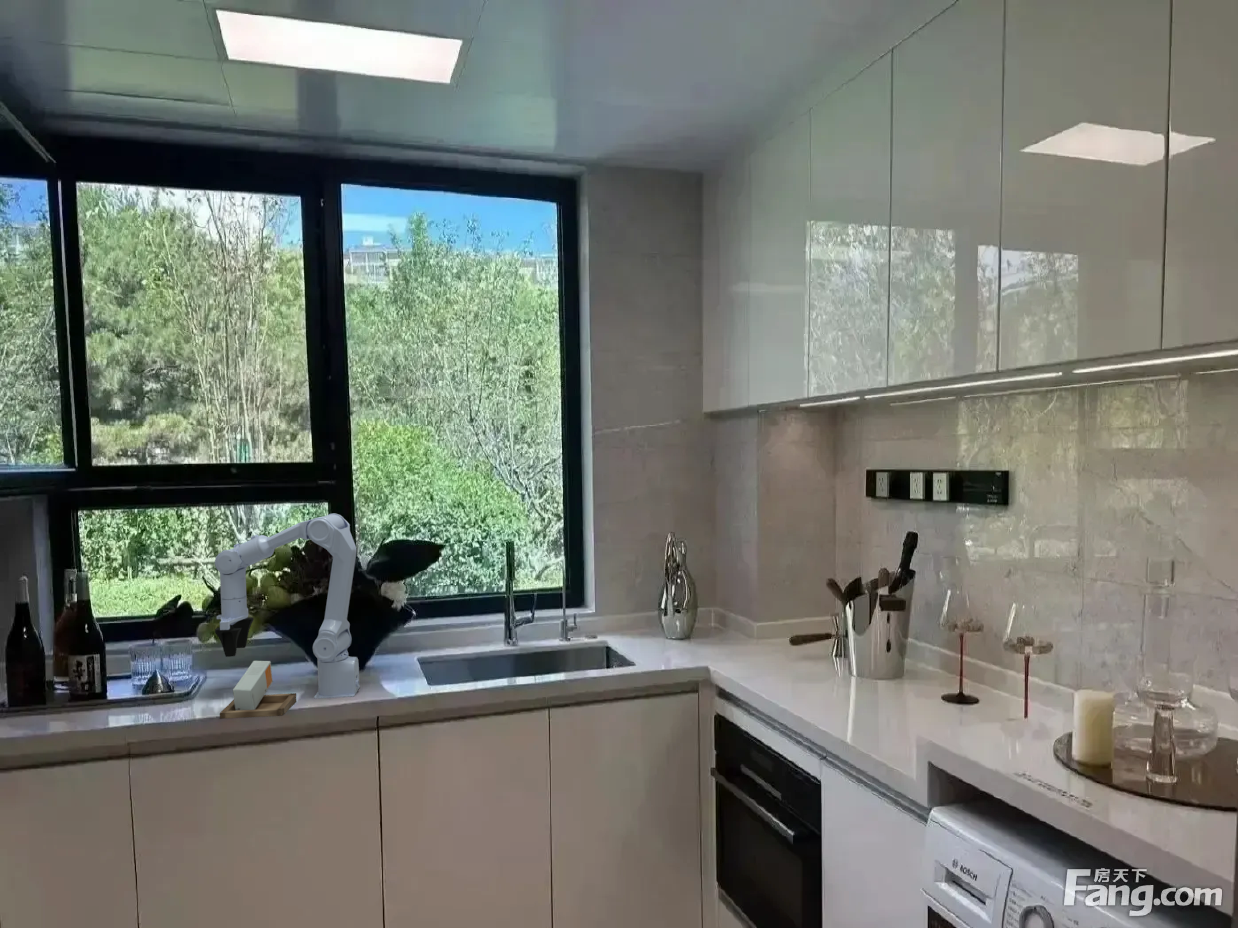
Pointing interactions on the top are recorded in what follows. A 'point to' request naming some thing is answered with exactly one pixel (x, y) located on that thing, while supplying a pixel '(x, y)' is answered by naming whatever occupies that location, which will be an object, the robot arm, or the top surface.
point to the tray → (263, 707)
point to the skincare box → (253, 685)
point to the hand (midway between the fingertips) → (235, 651)
